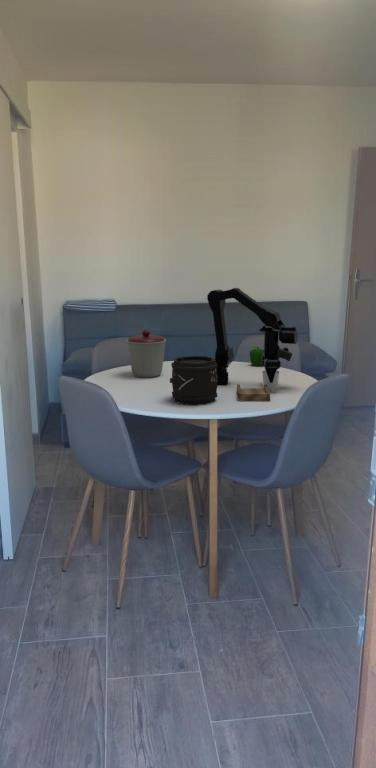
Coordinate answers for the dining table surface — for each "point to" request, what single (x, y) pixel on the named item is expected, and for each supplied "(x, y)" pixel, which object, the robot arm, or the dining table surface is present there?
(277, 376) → the shot glass
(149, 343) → the canister
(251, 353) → the bell pepper
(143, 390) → the dining table surface
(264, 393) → the tray
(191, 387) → the black ribbed pot
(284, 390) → the dining table surface
